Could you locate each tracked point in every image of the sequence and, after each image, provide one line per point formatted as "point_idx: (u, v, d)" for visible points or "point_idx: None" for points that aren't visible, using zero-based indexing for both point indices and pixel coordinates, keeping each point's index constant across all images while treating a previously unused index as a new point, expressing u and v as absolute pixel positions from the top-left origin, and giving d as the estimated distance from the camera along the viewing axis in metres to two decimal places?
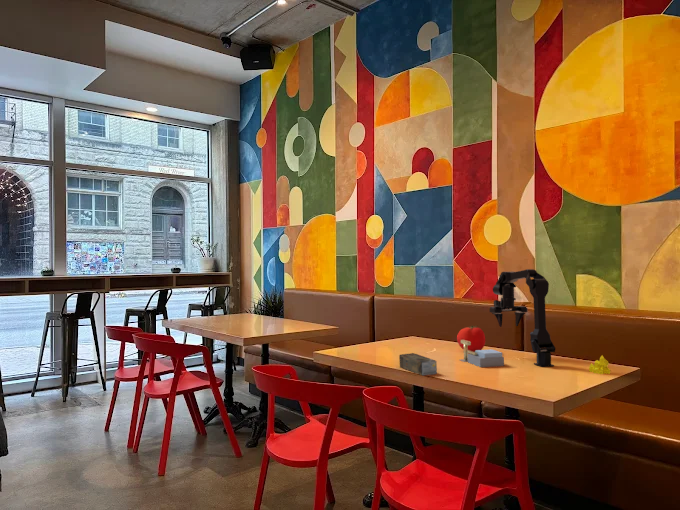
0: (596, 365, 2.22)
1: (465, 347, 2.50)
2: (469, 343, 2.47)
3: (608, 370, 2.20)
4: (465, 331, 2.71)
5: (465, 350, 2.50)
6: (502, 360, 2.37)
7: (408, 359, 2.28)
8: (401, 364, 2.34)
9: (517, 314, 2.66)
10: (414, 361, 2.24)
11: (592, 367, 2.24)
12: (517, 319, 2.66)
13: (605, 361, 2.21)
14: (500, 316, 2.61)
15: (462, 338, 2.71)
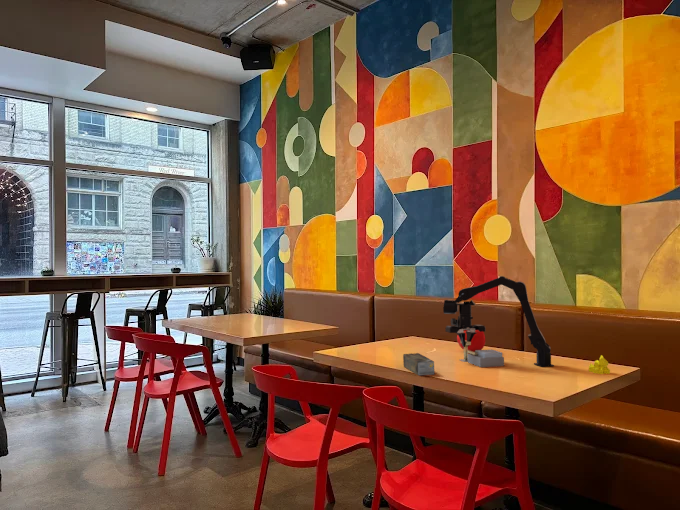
0: (596, 365, 2.22)
1: (465, 347, 2.50)
2: (469, 343, 2.47)
3: (608, 370, 2.20)
4: (465, 331, 2.71)
5: (465, 350, 2.50)
6: (502, 360, 2.37)
7: (408, 359, 2.29)
8: (404, 363, 2.35)
9: (468, 334, 2.51)
10: (412, 361, 2.25)
11: (592, 367, 2.24)
12: (468, 339, 2.50)
13: (605, 361, 2.21)
14: (463, 336, 2.48)
15: None
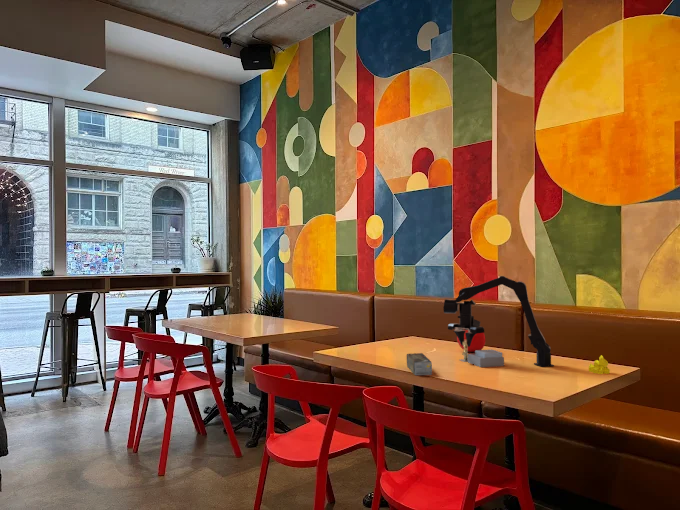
0: (596, 365, 2.22)
1: (464, 347, 2.50)
2: (465, 343, 2.47)
3: (608, 370, 2.20)
4: None
5: (464, 350, 2.50)
6: (502, 360, 2.37)
7: (409, 358, 2.30)
8: (407, 363, 2.36)
9: None
10: (411, 361, 2.25)
11: (592, 367, 2.24)
12: None
13: (605, 361, 2.21)
14: (456, 334, 2.52)
15: None
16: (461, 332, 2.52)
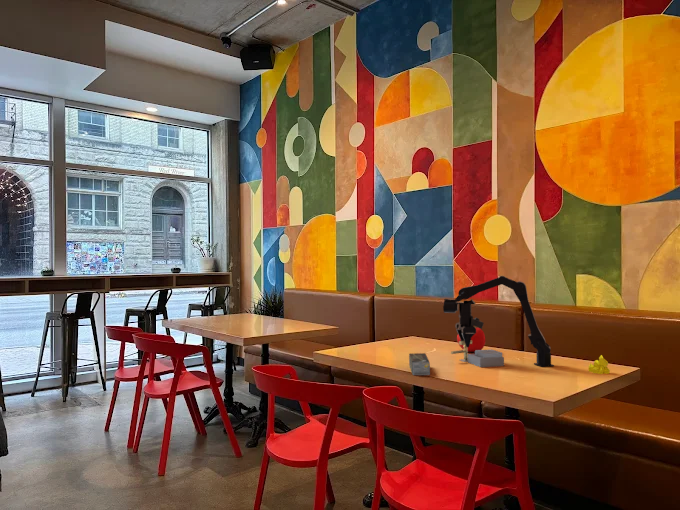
0: (595, 365, 2.22)
1: None
2: (460, 343, 2.49)
3: (607, 370, 2.20)
4: None
5: (463, 350, 2.51)
6: (502, 360, 2.37)
7: (410, 358, 2.30)
8: None
9: None
10: (410, 360, 2.26)
11: (591, 367, 2.24)
12: None
13: (604, 361, 2.21)
14: None
15: None
16: None
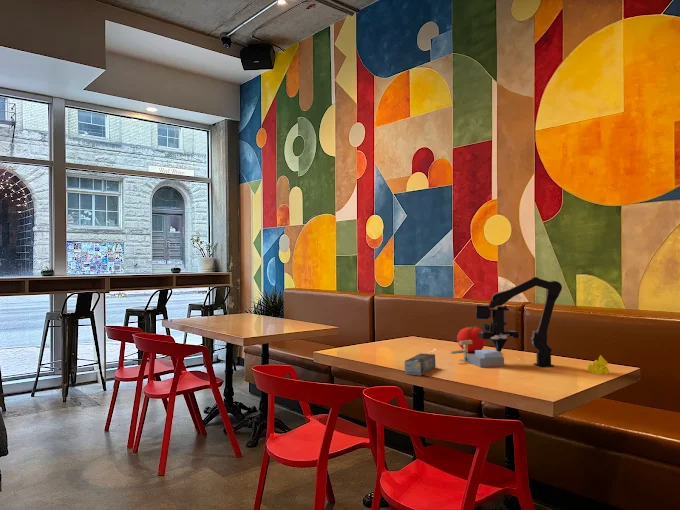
0: (595, 365, 2.22)
1: None
2: (460, 343, 2.49)
3: (607, 370, 2.20)
4: (465, 331, 2.71)
5: (463, 350, 2.51)
6: (502, 360, 2.37)
7: None
8: None
9: (499, 340, 2.43)
10: None
11: (591, 367, 2.24)
12: None
13: (604, 361, 2.21)
14: (498, 342, 2.40)
15: (462, 338, 2.71)
16: None
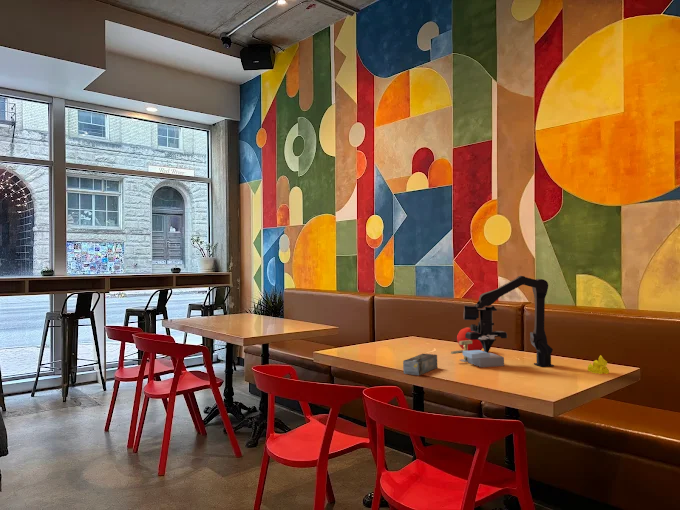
0: (595, 365, 2.22)
1: None
2: (460, 343, 2.49)
3: (607, 370, 2.20)
4: (465, 331, 2.71)
5: (463, 350, 2.51)
6: (502, 360, 2.37)
7: None
8: None
9: None
10: None
11: (591, 367, 2.24)
12: None
13: (604, 361, 2.21)
14: (485, 342, 2.38)
15: (462, 338, 2.71)
16: None
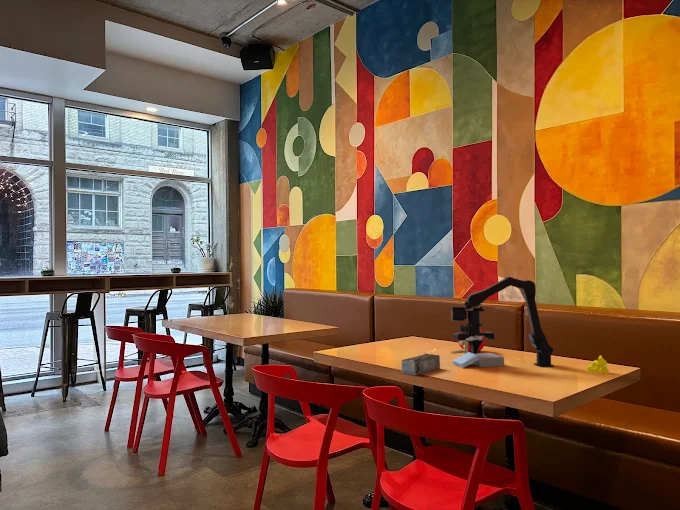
0: (595, 365, 2.22)
1: None
2: (460, 343, 2.49)
3: (606, 370, 2.20)
4: None
5: (463, 350, 2.51)
6: (502, 360, 2.37)
7: None
8: None
9: None
10: None
11: (590, 367, 2.24)
12: (475, 347, 2.39)
13: (603, 361, 2.21)
14: (473, 343, 2.37)
15: None
16: None
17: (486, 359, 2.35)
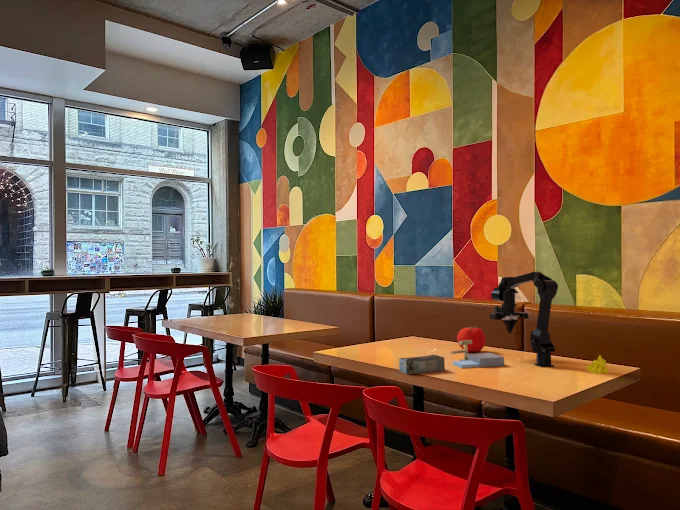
0: (594, 365, 2.22)
1: None
2: (460, 343, 2.49)
3: (606, 370, 2.21)
4: (465, 331, 2.71)
5: (463, 350, 2.51)
6: (502, 360, 2.37)
7: None
8: None
9: None
10: None
11: (590, 367, 2.24)
12: None
13: (603, 361, 2.21)
14: (509, 322, 2.56)
15: (462, 338, 2.71)
16: None
17: (486, 359, 2.35)
